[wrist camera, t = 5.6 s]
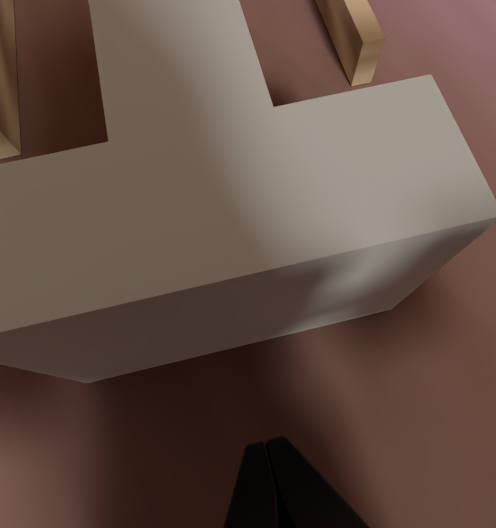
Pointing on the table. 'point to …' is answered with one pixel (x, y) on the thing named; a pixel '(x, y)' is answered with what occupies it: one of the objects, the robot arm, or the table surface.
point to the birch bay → (331, 8)
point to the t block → (222, 203)
